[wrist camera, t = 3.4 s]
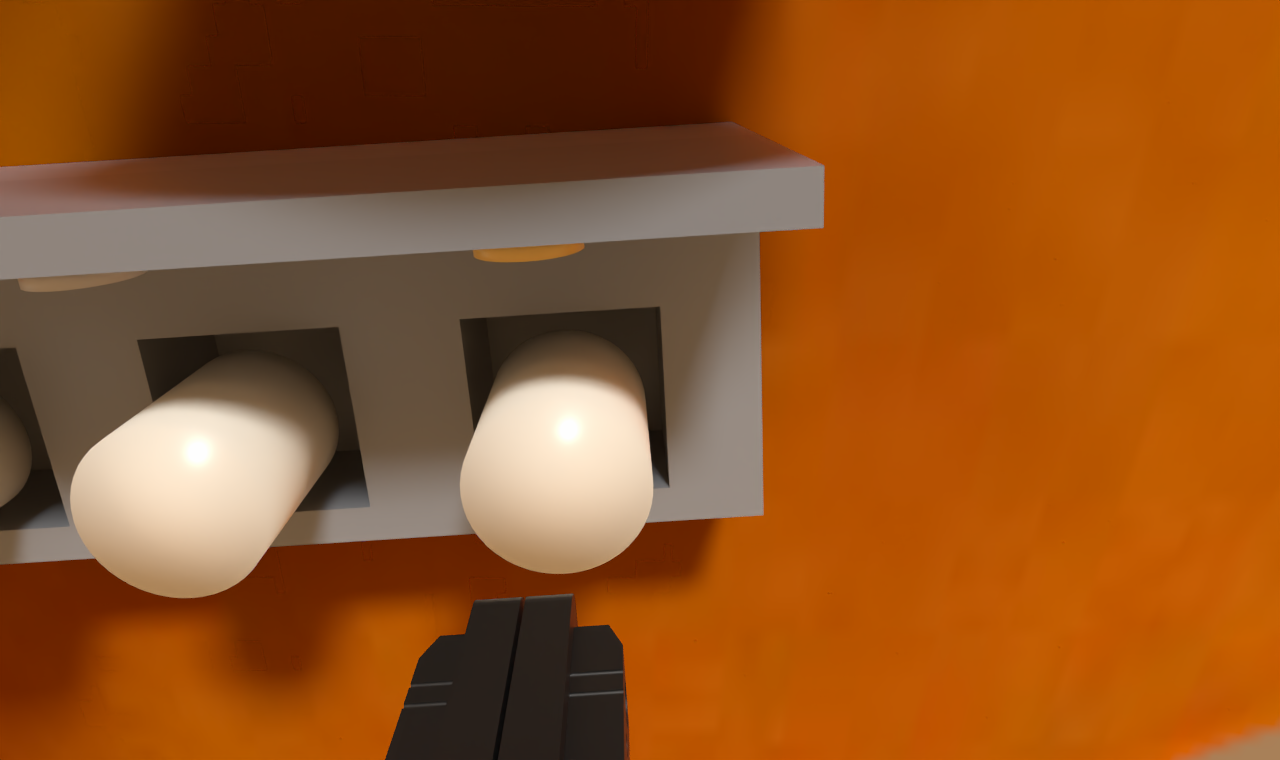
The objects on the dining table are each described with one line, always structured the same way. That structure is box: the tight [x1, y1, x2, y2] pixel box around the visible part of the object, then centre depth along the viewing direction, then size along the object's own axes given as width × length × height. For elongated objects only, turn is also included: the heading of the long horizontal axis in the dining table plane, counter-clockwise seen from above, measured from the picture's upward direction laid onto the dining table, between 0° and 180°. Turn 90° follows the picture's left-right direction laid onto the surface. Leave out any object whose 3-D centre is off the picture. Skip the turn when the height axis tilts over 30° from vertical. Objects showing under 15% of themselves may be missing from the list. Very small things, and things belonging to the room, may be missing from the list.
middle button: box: [70, 350, 339, 598], centre depth 21 cm, size 4×4×5 cm
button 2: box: [460, 330, 653, 574], centre depth 21 cm, size 4×4×5 cm
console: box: [0, 122, 824, 564], centre depth 22 cm, size 10×26×12 cm, turn 93°
